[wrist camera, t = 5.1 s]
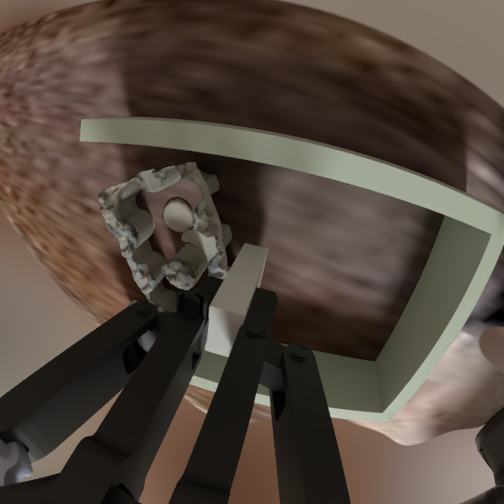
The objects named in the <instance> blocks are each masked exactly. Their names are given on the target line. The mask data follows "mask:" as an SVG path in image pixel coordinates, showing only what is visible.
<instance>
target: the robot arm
mask: <svg viewBox="0 0 504 504" xmlns="http://www.w3.org/2000/svg"><path fill="white" fill-rule="evenodd" d="M267 253H268V249H267V248H263V247H259V246H255V245H251V244H247V243H244V245H243V247H242V249H241V251H240V252H239V254H238V256H237V258H236V259H235V261H234V263H233V265H232V267H231V268H230V270H229V272H228V274H227V275H226V277H225V279H220V278H216V277H213V276H209V277H207V278H205V279H203V281H202V282H201V284H200V285H199V287H198V288H197V290H196V291H195V290H184V291H181V292H180V293H178V294H177V310H176V311H175V312H158V309H157V307H156V306H155V305H154V304H153V303H150V302H148V301H139V302H135V303H133V304H131V305H130V306H128V307H127V308H126V309H124V310H123V311H121V312H120V313H118V314H117V315H115V316H114V317H112V318H111V319H109V320H108V321H107V322H105V323H104V324H102V325H101V326H99V327H98V328H96V329H95V330H94V331H92V332H91V333H90V334H88V335H86V336H85V337H84V338H82V339H81V340H79V341H78V342H76V343H75V344H74V345H72V346H71V347H69V348H68V349H66V350H65V351H64V352H62V353H61V354H59V355H58V356H57V357H55V358H54V359H52V360H51V361H50V362H48V363H47V364H46V365H44V366H43V367H41V368H40V369H39V370H37V371H36V372H34V373H33V374H32V375H30V376H29V377H28V378H26V379H25V380H23V381H22V382H21V383H19V384H18V385H17V386H15V387H14V388H13V389H11V390H10V391H9V392H7V393H6V394H5V395H3V396H2V397H1V398H0V504H141V503H139V502H138V500H139V498H140V496H141V494H142V491H143V489H144V484H145V478H146V475H147V473H148V471H149V469H150V467H151V465H152V462H153V460H154V458H155V456H156V454H157V452H158V450H159V448H160V445H161V443H162V441H163V439H164V437H165V435H166V433H167V431H168V428H169V426H170V424H171V422H172V419H173V418H174V416H175V413H176V411H177V409H178V407H179V405H180V403H181V401H182V399H183V396H184V394H185V392H186V390H187V388H188V386H189V384H190V381H191V379H192V377H193V375H194V373H195V371H196V369H197V367H198V364H199V362H200V360H201V357H202V350H203V348H204V346H205V350H206V351H209V352H212V353H216V354H219V355H223V356H226V357H228V360H227V363H226V365H225V368H224V371H223V373H222V376H221V378H220V381H219V384H218V386H217V389H216V392H215V394H214V397H213V399H212V402H211V405H210V407H209V410H208V412H207V415H206V418H205V420H204V423H203V425H202V428H201V430H200V433H199V436H198V438H197V441H196V443H195V446H194V448H193V451H192V453H191V456H190V459H189V461H188V464H187V466H186V469H185V471H184V474H183V476H182V477H181V478H180V480H179V481H178V483H177V485H176V487H175V489H174V492H173V494H172V496H171V499H170V501H169V504H227V503H228V500H229V496H230V490H231V486H232V482H233V479H234V475H235V472H236V469H237V465H238V461H239V458H240V454H241V451H242V446H243V443H244V440H245V436H246V432H247V428H248V425H249V421H250V417H251V413H252V409H253V405H254V401H255V397H256V393H257V389H258V385H259V384H261V385H263V386H265V387H266V388H268V389H269V396H270V406H271V416H272V426H273V436H274V446H275V456H276V466H277V476H278V487H279V497H280V504H351V503H350V498H349V493H348V489H347V484H346V480H345V475H344V471H343V466H342V462H341V458H340V453H339V449H338V445H337V441H336V436H335V432H334V428H333V424H332V420H331V416H330V412H329V408H328V404H327V400H326V396H325V392H324V389H323V385H322V381H321V377H320V373H319V370H318V366H317V362H316V359H315V355H314V353H313V351H312V350H311V349H309V348H308V347H306V346H304V345H302V344H290V345H288V346H284V345H282V344H280V343H278V342H277V341H276V340H275V339H274V338H273V336H272V334H271V327H272V322H273V318H274V313H275V309H276V304H277V299H278V298H277V296H276V293H275V292H273V291H269V290H265V289H261V288H260V284H261V280H262V275H263V271H264V267H265V262H266V258H267ZM205 344H206V345H205ZM123 388H124V389H123ZM122 389H123V390H122ZM121 390H122V392H121V393H120V395H119V396H118V398H117V399H116V401H115V403H114V404H113V406H112V407H111V409H110V410H109V412H108V414H107V415H106V417H105V418H104V420H103V422H102V423H101V425H100V426H99V428H98V430H97V431H96V432H95V434H94V435H92V436H88V437H85V438H83V439H82V440H81V441H80V442H79V444H78V445H77V447H76V448H75V450H74V452H73V453H72V455H71V457H70V458H69V460H68V461H67V463H66V464H65V466H64V468H63V470H62V471H61V473H58V474H54V475H50V476H47V477H43V478H39V479H34V480H30V481H25V482H21V483H19V482H20V480H21V479H22V478H24V477H25V476H31V474H32V471H33V470H32V467H31V463H32V462H35V461H38V460H39V459H41V458H43V457H44V456H46V455H48V454H49V453H50V452H52V451H53V450H54V449H55V448H57V447H58V446H59V445H60V444H61V443H62V442H64V441H65V440H66V439H67V438H68V437H69V436H70V435H71V434H73V433H74V432H75V431H76V430H77V429H78V428H79V427H81V426H82V425H83V424H84V423H85V422H86V421H87V420H88V419H89V418H91V417H92V416H93V415H94V414H95V413H96V412H97V411H98V410H100V409H101V408H102V407H103V406H104V405H105V404H106V403H107V402H108V401H110V400H111V399H112V398H113V397H114V396H115V395H116V394H117V393H118V392H120V391H121ZM475 442H476V446H477V450H478V452H479V453H480V454H481V456H482V457H483V459H484V460H485V462H486V463H487V464H488V466H489V467H490V468H491V470H492V471H493V474H494V479H495V485H496V486H495V487H493V488H491V489H489V490H487V491H486V492H484V493H482V494H480V495H478V496H476V497H473V498H471V499H469V500H467V501H465V502H463V503H460V504H504V409H503V410H501V411H500V412H499V413H498V414H497V415H495V416H494V417H493V418H492V419H491V420H490V421H489V422H488V423H487V424H486V425H485V426H484V427H483V428H482V429H481V430H480V431H479V433H478V434H477V436H476V438H475Z"/></svg>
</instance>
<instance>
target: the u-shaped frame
mask: <svg viewBox="0 0 504 504" xmlns="http://www.w3.org/2000/svg"><path fill="white" fill-rule="evenodd" d="M80 141H90V142H109V143H123V144H136V145H146V146H156V147H165V148H173V149H181V150H189V151H196V152H203V153H209V154H216V155H222V156H228V157H234V158H239V159H245V160H250V161H255V162H260V163H265V164H270V165H275V166H280V167H284V168H289V169H293V170H298V171H302V172H306V173H310V174H314V175H318V176H322V177H326V178H330V179H334V180H338V181H341V182H345V183H349V184H352V185H356V186H359V187H363V188H366V189H370V190H373V191H376V192H379V193H383V194H386V195H389V196H392V197H395V198H398V199H401V200H404V201H407V202H410V203H413V204H416V205H419V206H422V207H424V208H427V209H430V210H433V211H435V212H438V213H441V214H443V215H445V216H444V219H443V222H442V225H441V227H440V230H439V233H438V236H437V238H436V241H435V243H434V246H433V248H432V251H431V253H430V256H429V258H428V261H427V263H426V265H425V268H424V270H423V272H422V274H421V277H420V279H419V281H418V283H417V285H416V287H415V290H414V292H413V294H412V296H411V298H410V300H409V302H408V304H407V306H406V308H405V310H404V312H403V313H402V315H401V317H400V319H399V321H398V323H397V325H396V326H395V328H394V330H393V332H392V334H391V335H390V337H389V339H388V341H387V342H386V344H385V346H384V347H383V349H382V351H381V352H380V354H379V356H378V357H377V359H376V360H375V361H369V360H363V359H357V358H351V357H345V356H340V355H334V354H329V353H324V352H319V351H314V350H312V351H313V353H314V355H315V359H316V362H317V366H318V370H319V373H320V377H321V381H322V385H323V389H324V392H325V396H326V400H327V404H328V408H329V412H330V416H331V417H335V418H343V419H352V420H362V421H375V422H389V421H390V420H391V419H392V418H393V417H394V416H395V415H396V413H397V412H398V411H399V410H400V409H401V408H402V407H403V406H404V405H405V404H406V402H407V401H408V400H409V399H410V398H411V397H412V396H413V394H414V393H415V392H416V391H417V390H418V388H419V387H420V386H421V385H422V383H423V382H424V381H425V380H426V378H427V377H428V376H429V375H430V373H431V372H432V371H433V369H434V368H435V367H436V365H437V364H438V363H439V361H440V360H441V358H442V357H443V356H444V354H445V353H446V351H447V350H448V348H449V347H450V345H451V344H452V342H453V341H454V339H455V338H456V336H457V335H458V333H459V332H460V330H461V328H462V327H463V325H464V324H465V322H466V320H467V319H468V317H469V315H470V313H471V312H472V310H473V308H474V306H475V305H476V303H477V301H478V299H479V297H480V295H481V293H482V291H483V289H484V287H485V285H486V283H487V281H488V279H489V277H490V275H491V273H492V271H493V269H494V266H495V264H496V262H497V260H498V257H499V255H500V253H501V250H502V248H503V245H504V213H502V212H500V211H499V210H497V209H495V208H493V207H492V206H490V205H488V204H486V203H485V202H483V201H481V200H479V199H477V198H475V197H474V196H472V195H470V194H468V193H466V192H464V191H462V190H459V189H457V188H455V187H452V186H450V185H448V184H445V183H443V182H441V181H438V180H436V179H433V178H431V177H428V176H426V175H423V174H421V173H418V172H415V171H413V170H410V169H407V168H404V167H402V166H399V165H396V164H393V163H390V162H387V161H384V160H381V159H378V158H375V157H371V156H368V155H365V154H362V153H358V152H355V151H351V150H348V149H344V148H340V147H337V146H333V145H329V144H325V143H321V142H317V141H313V140H309V139H304V138H300V137H295V136H291V135H286V134H281V133H276V132H270V131H265V130H259V129H254V128H248V127H241V126H234V125H227V124H220V123H212V122H203V121H194V120H183V119H170V118H154V117H111V118H94V119H82V121H81V134H80ZM135 302H139V301H136V300H133V301H132V302H131V303H130V304H129V305H128V306H130V305H131V304H133V303H135ZM128 306H127V307H128ZM127 307H126V308H127ZM280 344H282V343H280ZM205 345H206V344H205ZM282 345H284V346H288V345H287V344H282ZM227 360H228V357H226V356H223V355H219V354H216V353H212V352H209V351H206V350H205V346H204V348H203V350H202V357H201V360H200V362H199V364H198V367H197V369H196V371H195V373H194V375H193V377H192V379H191V381H190V384H191V385H194V386H197V387H200V388H203V389H206V390H210V391H213V392H216V389H217V386H218V384H219V381H220V378H221V376H222V373H223V371H224V368H225V365H226V363H227ZM254 403H258V404H262V405H266V406H270V396H269V389H268V388H266V387H265V386H263V385H261V384H259V385H258V389H257V393H256V397H255V401H254Z"/></svg>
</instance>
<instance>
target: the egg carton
mask: <svg viewBox="0 0 504 504" xmlns="http://www.w3.org/2000/svg"><path fill="white" fill-rule="evenodd" d="M180 177H182V178H183V179H186V180H190V181H193V182H195V183H197V184H198V185H199V186H200V188H201V189H202V192H203V200H202V201H201V202H200V203H199V204H198V205H197V207H196V208H195V209H194V212H195V216H194V212H193V210H192V209H191V207H190V206H189V205H188V204H187V203H186V202H184V201H183V200H180V199H176V200H173V199H172V200H171V201H170V202H169V203H168V204H167V205H166V206H165V210H164V220H165V222H166V224H167V225H168V226H169V227H170V228H171V229H172V230H174V231H176V232H183V234H182V239H181V240H182V241H183V242H189V243H193V244H191V245H189V244H185V247H182V248H181V250H180V251H179V252H178V253H177V254H176V255H175V256H174V257H173V258H172V259H170V260H169V261H168V262H167V261H166V260H165V257H163V256H162V255H161V254H159V253H157V252H154V251H152V248H151V245H150V243H149V241H148V238H149V237H150V236H151V235H152V233H153V230H154V227H155V225H154V221H153V219H152V217H151V215H150V214H149V212H147V211H144V210H143V209H139V208H138V207H137V205H136V202H135V198H136V197H135V196H136V195H137V194H138V192H139V191H140V188H142V189H143V190H145V191H148V192H157V191H160V190H162V189H164V188H166V187H168V186H170V185H172V184H173V183H175V182H177V181H178V180H179V179H180ZM218 190H219V182H218V179H217V177H216V175H215V174H206V173H204V172H202V171H201V170H200V169H199V168H198V167H197V165H196V162H187V163H184V164H182V165H179V166H170V167H166V168H163V169H161V170H159V171H157V172H156V171H155V169H151V170H147V171H143V172H140V173H138V174H137V175H136V176H135V177H134V178H132V179H131V180H129V181H127V182H125V183H122V184H119V185H117V186H112V187H110V188H108V189H105V190H103V191H102V192H101V193H99V195H98V200H99V202H100V203H101V208H100V210H101V213H102V215H103V217H104V218H105V223H106V226H107V228H108V230H109V231H110V233H111V236H112V237H117V238H118V240H119V244H120V248H121V253H122V256H124V257H125V258H126V259H127V262H128V264H129V266H130V268H131V270H132V274H133V278H134V280H135V282H136V283H137V285H138V286H139V288H140V289H141V291H142V292H143V293H144V294H145V295H146V297H147V300H148V301H149V302H150V303H153V304H154V305H155V306H156V307H157V309H158V312H175V311H176V310H177V294H176V293H175V292H174V291H173V290H169V289H166V288H165V287H164V285H163V282H162V279H163V277H164V276H166V278H167V279H168V281H169V282H170V283H171V284H172V285H174V286H176V287H177V288H181V289H184V290H189V289H190V288H192V287H193V286H194V285H195V284H196V283H197V281H198V279H199V278H200V276H201V275H202V274H203V272H205V270H207V269H208V268H209V273H208V277H209V276H213V277H216V278H220V279H225V277H226V275H227V274H228V272H229V270H230V268H231V267H229V266H228V265H227V256H226V252H225V248H226V246H227V245H228V244H229V242H230V241H231V240H232V233H231V230H230V226H229V225H227V224H222V223H220V219H219V216H218V213H217V211H216V208H215V206H214V203H213V200H212V197H211V195H212V194H213V193H215V192H216V191H218ZM194 218H195V220H196V221H195V224H193V221H194ZM196 223H197V224H196ZM192 226H193V228H192V229H191V230H188V229H189V228H191V227H192ZM215 236H217V237H218V240H216V239H215ZM197 288H198V287H197ZM197 288H196V289H194V290H195V291H196V290H197Z"/></svg>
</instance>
